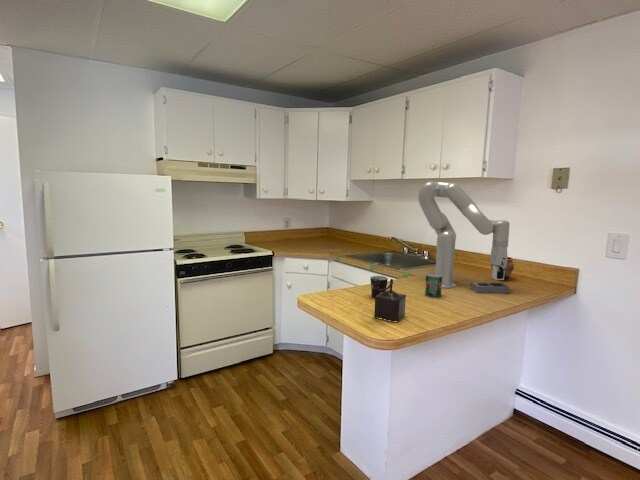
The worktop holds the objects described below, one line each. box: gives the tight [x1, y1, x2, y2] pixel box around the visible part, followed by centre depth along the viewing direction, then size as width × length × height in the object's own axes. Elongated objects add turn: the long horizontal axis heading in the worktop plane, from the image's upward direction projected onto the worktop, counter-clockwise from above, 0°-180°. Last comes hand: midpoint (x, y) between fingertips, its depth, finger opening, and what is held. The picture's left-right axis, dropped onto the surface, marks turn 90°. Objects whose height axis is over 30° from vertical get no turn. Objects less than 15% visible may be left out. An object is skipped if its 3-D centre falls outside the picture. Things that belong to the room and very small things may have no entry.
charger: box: [491, 265, 505, 281], centre depth 193 cm, size 4×4×7 cm
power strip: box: [469, 281, 511, 295], centre depth 198 cm, size 17×16×4 cm
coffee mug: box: [369, 275, 389, 299], centre depth 181 cm, size 12×9×10 cm
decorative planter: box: [490, 256, 514, 281], centre depth 219 cm, size 20×12×14 cm, turn 155°
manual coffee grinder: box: [370, 278, 407, 322], centre depth 150 cm, size 16×11×18 cm
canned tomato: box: [424, 272, 442, 299], centre depth 184 cm, size 8×8×11 cm
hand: (497, 277), depth 193 cm, fingers closed on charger, 4 cm apart
